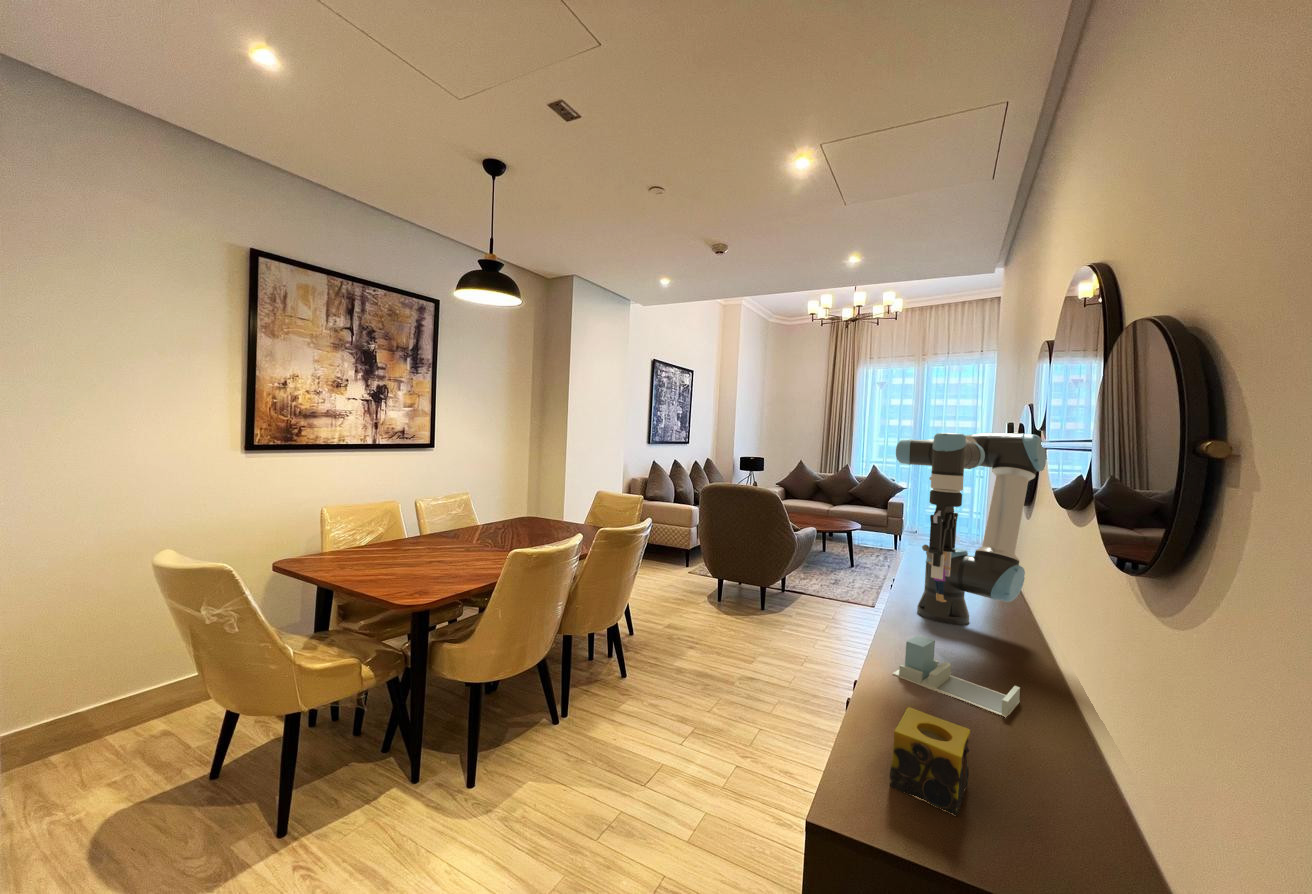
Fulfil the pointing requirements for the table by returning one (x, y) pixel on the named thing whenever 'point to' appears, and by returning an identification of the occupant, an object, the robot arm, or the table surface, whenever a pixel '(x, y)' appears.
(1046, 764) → the table surface
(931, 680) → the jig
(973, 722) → the table surface
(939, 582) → the toy
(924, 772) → the yellow tissue box
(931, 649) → the grey-blue block
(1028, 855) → the table surface
